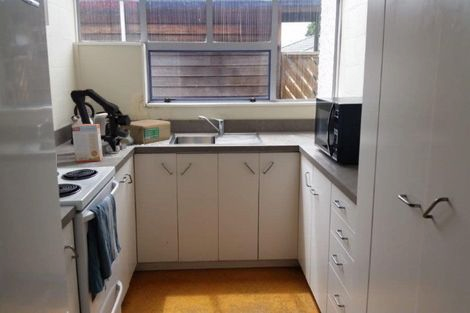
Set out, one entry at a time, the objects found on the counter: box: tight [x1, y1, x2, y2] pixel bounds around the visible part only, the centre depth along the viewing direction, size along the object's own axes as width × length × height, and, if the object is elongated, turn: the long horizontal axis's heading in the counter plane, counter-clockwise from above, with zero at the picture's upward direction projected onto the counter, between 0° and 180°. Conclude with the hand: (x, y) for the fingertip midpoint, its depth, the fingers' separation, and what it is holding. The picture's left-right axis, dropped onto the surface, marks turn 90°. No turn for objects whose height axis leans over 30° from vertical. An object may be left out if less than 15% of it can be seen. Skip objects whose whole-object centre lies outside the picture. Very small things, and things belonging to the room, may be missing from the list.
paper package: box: [121, 118, 171, 145], centre depth 302 cm, size 27×26×14 cm
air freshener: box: [120, 134, 134, 147], centre depth 285 cm, size 11×8×10 cm
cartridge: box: [106, 146, 121, 153], centre depth 259 cm, size 12×4×4 cm, turn 81°
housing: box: [101, 142, 110, 155], centre depth 259 cm, size 6×8×6 cm
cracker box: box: [71, 123, 104, 163], centre depth 236 cm, size 14×6×21 cm, turn 92°
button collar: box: [119, 144, 127, 151], centre depth 271 cm, size 7×7×3 cm
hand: (116, 150), depth 258 cm, fingers closed on cartridge, 4 cm apart
